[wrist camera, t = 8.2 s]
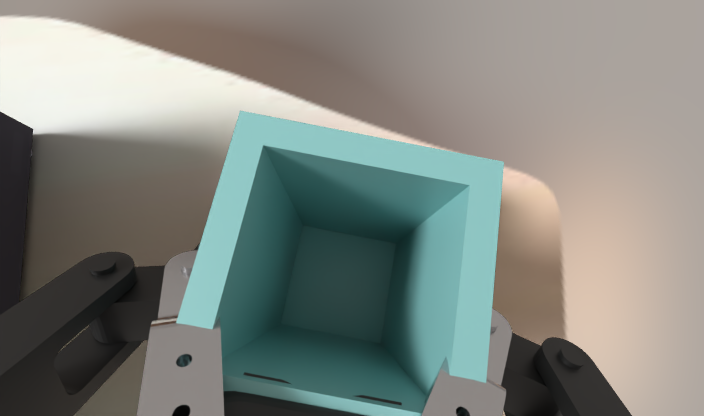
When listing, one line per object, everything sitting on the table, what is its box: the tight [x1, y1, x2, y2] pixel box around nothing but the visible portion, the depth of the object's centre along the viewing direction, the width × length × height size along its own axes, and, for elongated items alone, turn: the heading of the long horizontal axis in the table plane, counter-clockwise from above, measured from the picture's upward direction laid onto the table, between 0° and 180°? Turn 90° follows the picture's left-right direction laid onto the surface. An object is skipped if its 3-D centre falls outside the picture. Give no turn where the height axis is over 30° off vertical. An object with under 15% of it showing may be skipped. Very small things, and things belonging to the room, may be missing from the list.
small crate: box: [176, 111, 504, 416], centre depth 12 cm, size 6×6×10 cm
